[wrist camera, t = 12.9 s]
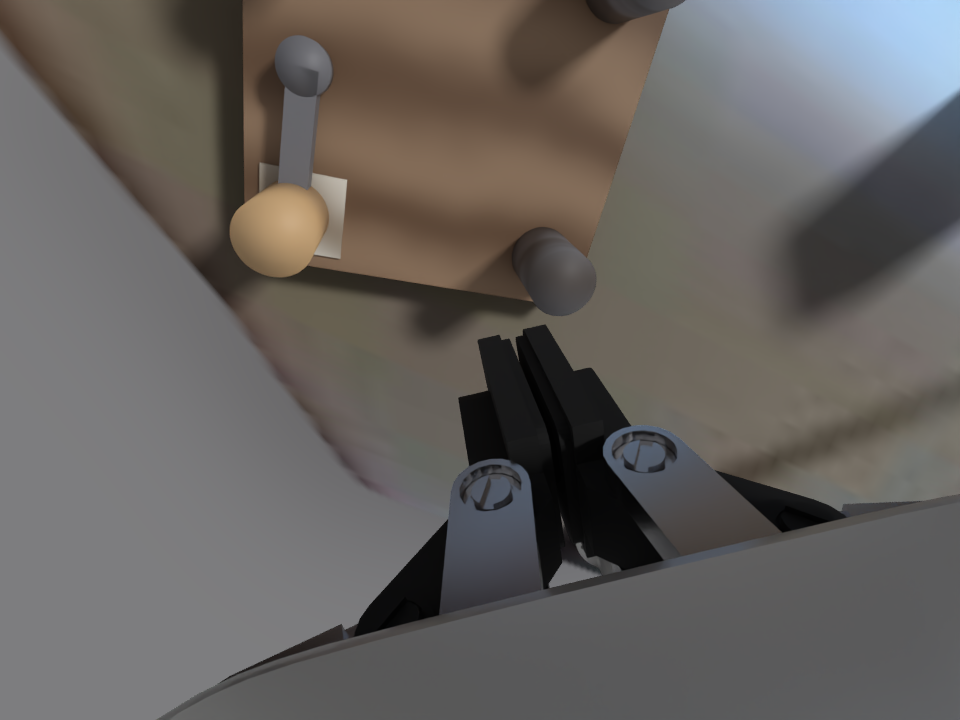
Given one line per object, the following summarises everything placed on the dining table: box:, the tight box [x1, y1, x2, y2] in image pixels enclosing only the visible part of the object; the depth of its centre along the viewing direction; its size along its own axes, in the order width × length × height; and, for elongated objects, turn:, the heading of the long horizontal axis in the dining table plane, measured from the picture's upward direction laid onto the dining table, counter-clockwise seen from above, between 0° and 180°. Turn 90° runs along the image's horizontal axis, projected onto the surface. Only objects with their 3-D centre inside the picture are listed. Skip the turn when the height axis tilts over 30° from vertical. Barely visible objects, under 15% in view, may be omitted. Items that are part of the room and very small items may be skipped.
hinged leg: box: [230, 35, 334, 277], centre depth 22 cm, size 10×4×5 cm, turn 165°
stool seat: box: [243, 0, 685, 316], centre depth 24 cm, size 20×20×8 cm
